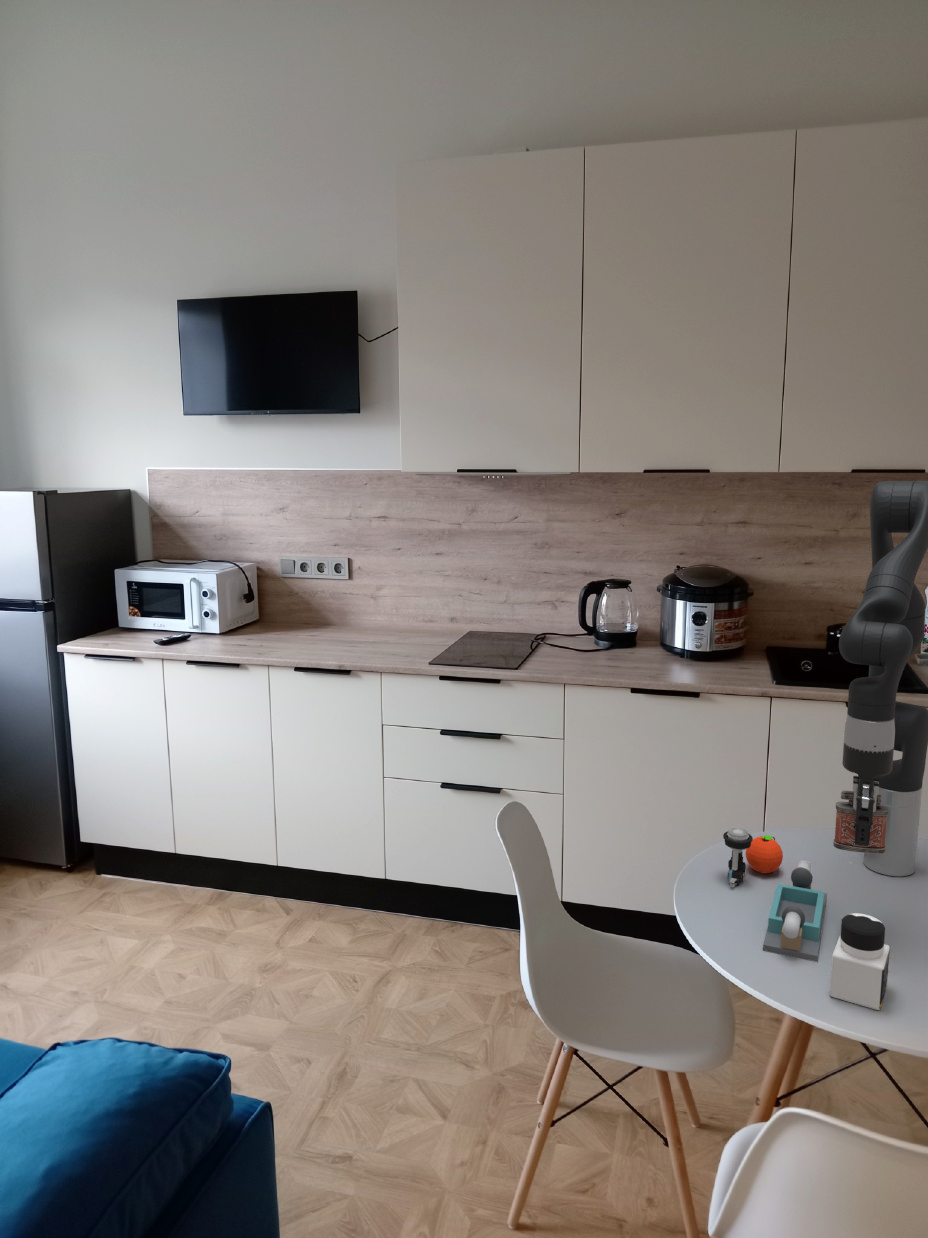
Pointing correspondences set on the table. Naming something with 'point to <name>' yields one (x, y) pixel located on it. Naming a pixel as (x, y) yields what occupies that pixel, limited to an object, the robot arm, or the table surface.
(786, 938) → the shaft cradle
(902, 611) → the robot arm
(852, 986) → the medicine bottle
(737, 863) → the push button
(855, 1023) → the table surface
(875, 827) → the lighter
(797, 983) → the table surface
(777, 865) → the clementine
